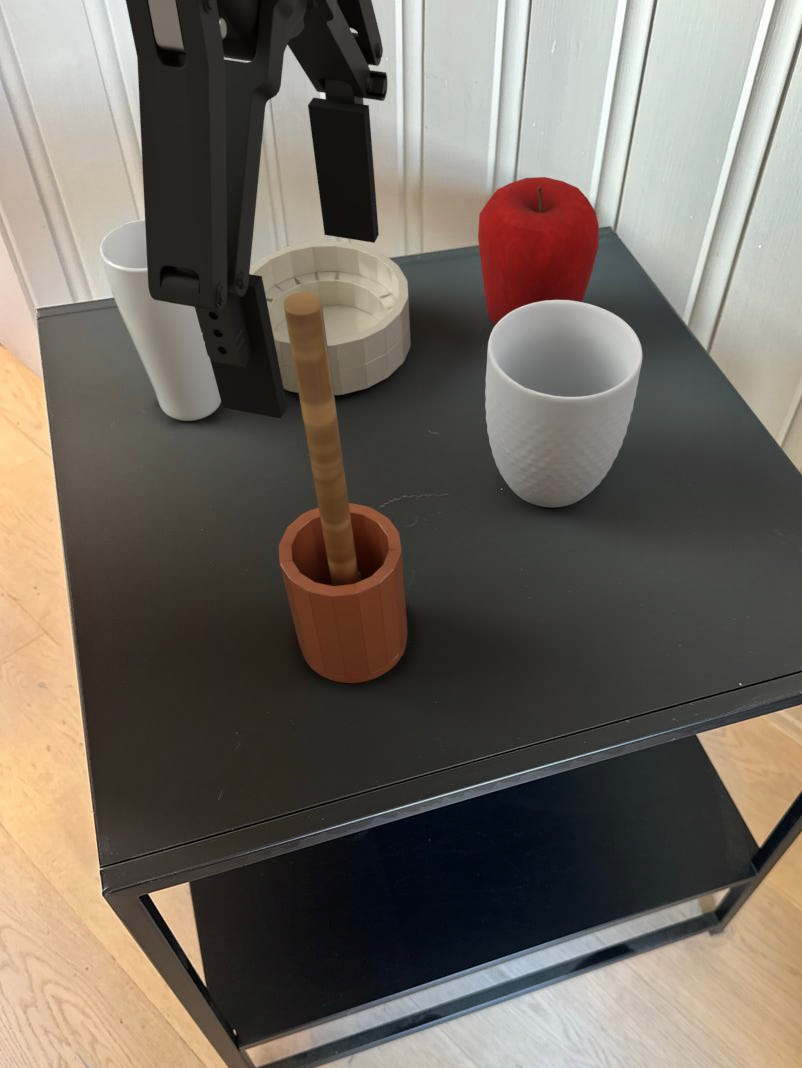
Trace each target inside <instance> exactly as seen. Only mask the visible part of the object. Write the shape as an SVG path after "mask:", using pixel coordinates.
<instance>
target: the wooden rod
mask: <svg viewBox="0 0 802 1068" xmlns="http://www.w3.org/2000/svg"><path fill="white" fill-rule="evenodd" d="M284 311H285V317H286V323H287V329H288V334H289V340H290V346H291V352H292V357H293V363H294V369H295V375H296V380H297V386H298V392H299V393H298V397H299V403H300V410H301V415H302V420H303V421H302V422H303V427H304V432H305V438H306V443H307V449H308V455H309V460H310V467H311V472H312V478H313V485H314V490H315V495H316V501H317V508H318V507H319V513H320V519H321V525H322V530H323V536H324V542H325V548H326V553H327V559H328V565H329V571H330V577H331V582H332V586H341V585H350V584H355V583H358V582H360V581H362V579H361V573H360V572H358V568H357V561H356V554H355V546H354V539H353V531H352V524H351V516H350V509H349V503H350V502H349V496H348V495H349V494H348V488H347V480H346V473H345V466H344V457H343V450H342V443H341V442H342V441H341V436H340V428H339V421H338V414H337V405H336V398H335V395H334V390H333V382H332V375H331V368H330V360H329V353H328V345H327V338H326V330H325V323H324V315H323V308H322V301H321V299H320V298H319V297H318V296H317V295H316V294H313V293H310V292H298V293H294V294H292V295H290V296H288V297H287V298H286V299H285V301H284Z"/></svg>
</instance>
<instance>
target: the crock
mask: <svg viewBox="0 0 802 1068" xmlns="http://www.w3.org/2000/svg"><path fill="white" fill-rule="evenodd" d="M349 509H350V516H351V524H352V531H353V539H354V546H355V554H356V561H357V568H358V572H360V573H361V579H362V581H360V582H358V583H355V584H350V585H341V586H332V582H331V577H330V571H329V565H328V559H327V553H326V548H325V542H324V536H323V530H322V525H321V519H320V513H319V507H318V506H317V507H315V508H313V509H310V510H308V511H306V512H303V513H302V514H300V516H298V517H297V518H296V519H295V520H294V521H292V523H290V524H289V525H288V526H287V528H286V529H285V532H284V534H283V536H282V538H281V540H280V542H279V545H278V558H279V560H278V561H279V566H280V570H281V575H282V578H283V583H284V587H285V591H286V595H287V600H288V605H289V609H290V613H291V616H292V617H291V618H292V621H293V625H294V629H295V633H296V637H297V641H298V647H299V648H300V651H301V654H302V657H303V658H304V660H305V662H306V664H307V665H308V666H309V667H310V668H311V669H312V671H314V672H315V673H317V674H318V675H320V676H321V677H323V678H326V679H327V680H330V681H334V682H337V683H343V684H359V683H364V682H369V681H372V680H375V679H377V678H380V677H381V676H383V675H385V674H387V672H389V671H391V670H392V669H393V668H394V667H395V666H396V665H397V664H398V662H399V661H400V660H401V658H402V656H403V655H404V653H405V651H406V649H407V648H406V647H407V644H408V633H409V632H408V619H407V618H408V617H407V608H406V607H407V605H406V604H407V603H406V591H405V579H404V565H403V563H404V562H403V552H402V551H403V550H402V549H403V548H402V543H401V536H400V532H399V530H398V529H397V528H396V526H395V525H394V523H393V522H392V521H391V519H390V518H389V517H387V516H386V515H384V514H383V513H381V512H379V511H377V510H376V509H374V508H372V507H370V506H367V505H361V504H358V503H351V502H349Z"/></svg>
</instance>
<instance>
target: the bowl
mask: <svg viewBox="0 0 802 1068" xmlns="http://www.w3.org/2000/svg"><path fill="white" fill-rule="evenodd" d="M249 274H252V275H258V276H262V280H263V285H264V290H265V295H266V300H267V305H268V310H269V316H270V321H271V326H272V331H273V336H274V341H275V346H276V351H277V357H278V362H279V367H280V372H281V377H282V382H283V387H284V391H288V392H290V393H297V394H299V392H298V386H297V380H296V375H295V369H294V363H293V357H292V352H291V346H290V340H289V334H288V329H287V323H286V317H285V311H284V301H285V299H286V298H287V297H288V296H290V295H292V294H294V293H298V292H310V293H313V294H316V295H317V296H318V297H319V298H320V299H321V301H322V308H323V315H324V323H325V330H326V338H327V345H328V353H329V360H330V368H331V375H332V382H333V390H334V396H341V395H347V394H350V393H355V392H359V391H362V390H366V389H369V388H371V387H373V386H374V385H377V384H378V383H380V382H382V381H384V380H386V379H388V378H389V377H390V376H392V374H394V372H396V371H397V370H398V369H399V368H400V367H401V366H402V365H403V364H404V362H405V361H406V358H407V355H408V354H409V351H410V349H411V345H412V344H411V343H412V342H411V324H410V323H411V322H410V302H409V301H410V300H409V281H408V279H407V277H406V276H405V274H404V271H402V269H401V267H400V266H399V264H397V263H396V262H395V261H393V260H392V259H390V258H389V257H388V256H387V255H385V254H384V253H383V252H380V251H378V250H375V249H373V248H370V247H368V246H365V245H363V244H358V243H352V242H346V241H341V240H325V241H323V240H322V241H308V242H302V243H298V244H293V245H288V246H285V247H283V248H280V249H278V250H275V251H273V252H271V253H268V254H266V255H265V256H262V257H261V258H260V259H259V260H257V261H256V262H254V263H253V265H252V264H251V265H250V273H249Z"/></svg>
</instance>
